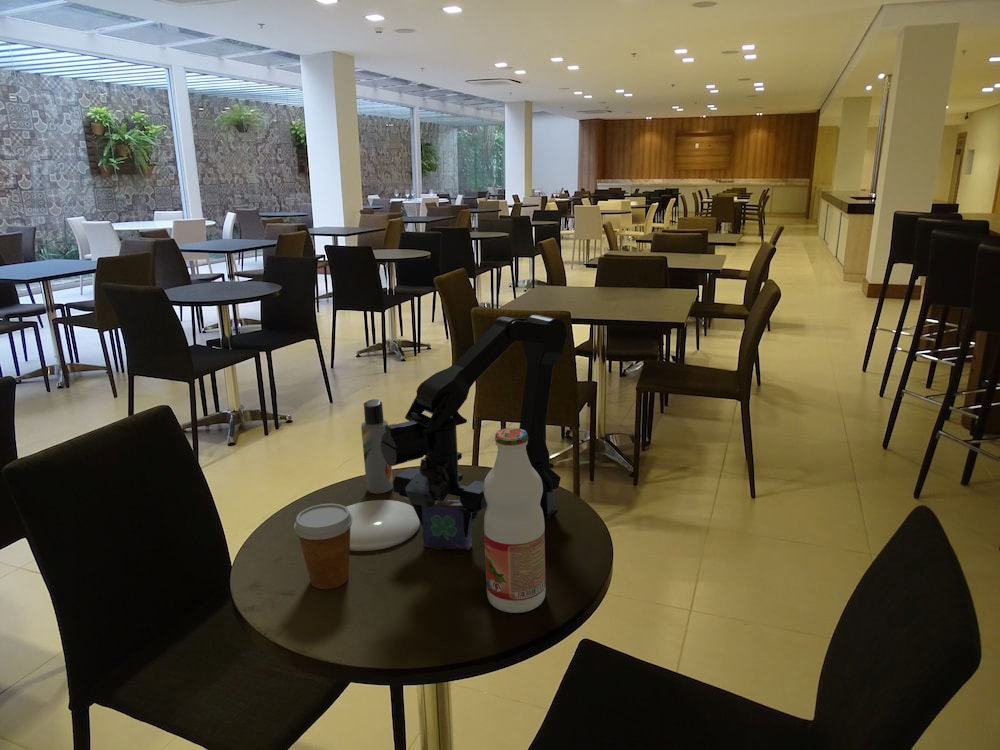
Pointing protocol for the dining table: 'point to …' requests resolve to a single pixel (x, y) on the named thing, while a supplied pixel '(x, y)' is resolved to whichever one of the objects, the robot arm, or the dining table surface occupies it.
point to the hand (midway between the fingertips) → (445, 530)
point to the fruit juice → (514, 527)
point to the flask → (445, 526)
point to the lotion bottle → (375, 449)
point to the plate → (381, 524)
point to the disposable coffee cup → (325, 543)
